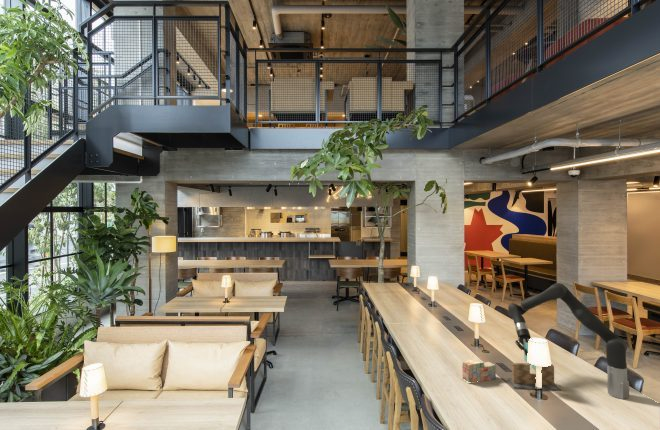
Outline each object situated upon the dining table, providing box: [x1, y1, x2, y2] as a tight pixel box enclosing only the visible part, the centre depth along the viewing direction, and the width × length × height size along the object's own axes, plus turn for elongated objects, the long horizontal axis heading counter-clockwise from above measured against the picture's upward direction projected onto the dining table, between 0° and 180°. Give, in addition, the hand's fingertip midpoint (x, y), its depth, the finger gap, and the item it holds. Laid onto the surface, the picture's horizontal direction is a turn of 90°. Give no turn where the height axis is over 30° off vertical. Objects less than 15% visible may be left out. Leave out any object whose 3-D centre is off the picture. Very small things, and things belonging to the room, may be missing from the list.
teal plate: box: [523, 342, 542, 373], centre depth 231 cm, size 20×2×12 cm, turn 172°
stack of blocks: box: [461, 358, 497, 383], centre depth 240 cm, size 21×6×12 cm, turn 107°
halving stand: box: [506, 362, 561, 392], centre depth 231 cm, size 27×12×13 cm, turn 82°
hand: (530, 355), depth 235 cm, fingers closed on teal plate, 2 cm apart
